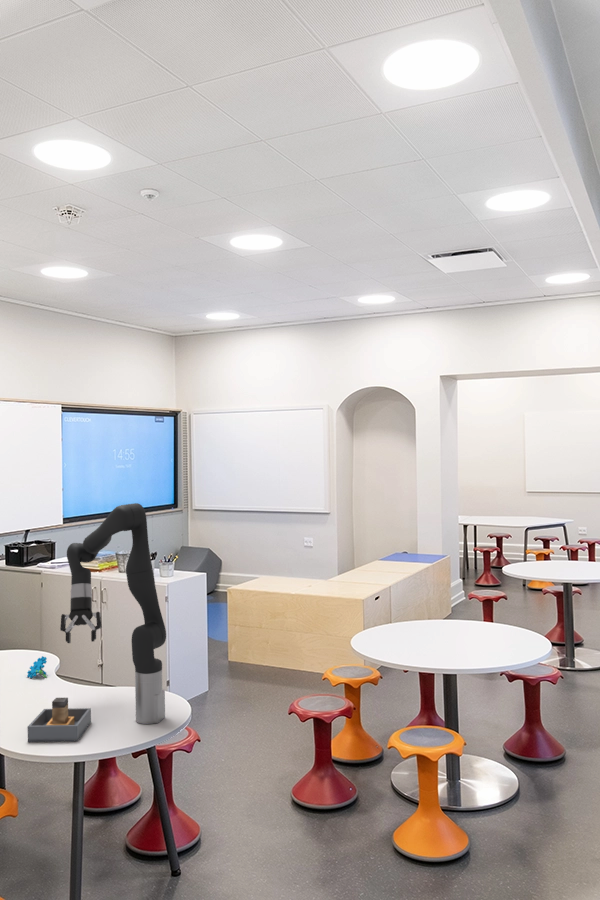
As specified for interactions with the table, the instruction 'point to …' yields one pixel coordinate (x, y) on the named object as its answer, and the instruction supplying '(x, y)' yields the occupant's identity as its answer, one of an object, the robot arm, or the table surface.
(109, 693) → the table surface
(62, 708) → the plug
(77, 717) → the box
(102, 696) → the table surface
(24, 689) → the table surface
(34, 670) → the blue lumpy cluster
